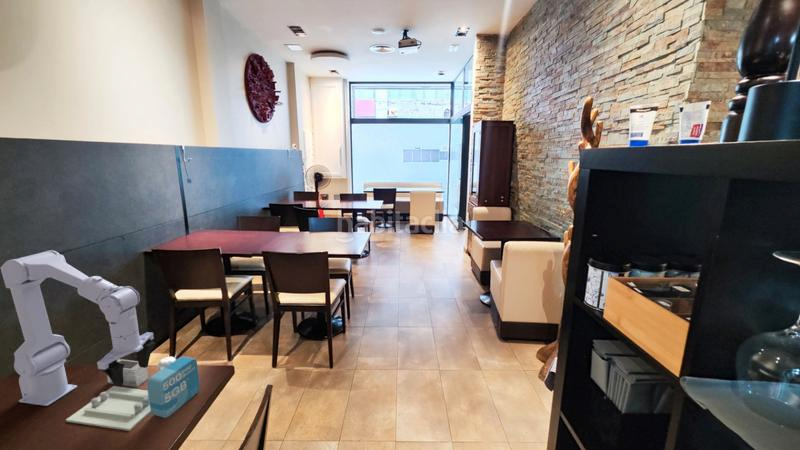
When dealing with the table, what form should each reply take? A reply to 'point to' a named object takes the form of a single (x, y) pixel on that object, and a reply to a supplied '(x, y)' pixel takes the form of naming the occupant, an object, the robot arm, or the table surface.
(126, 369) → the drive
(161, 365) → the milkshake
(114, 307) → the robot arm
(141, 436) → the table surface
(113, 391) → the dock tray
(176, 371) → the data package
